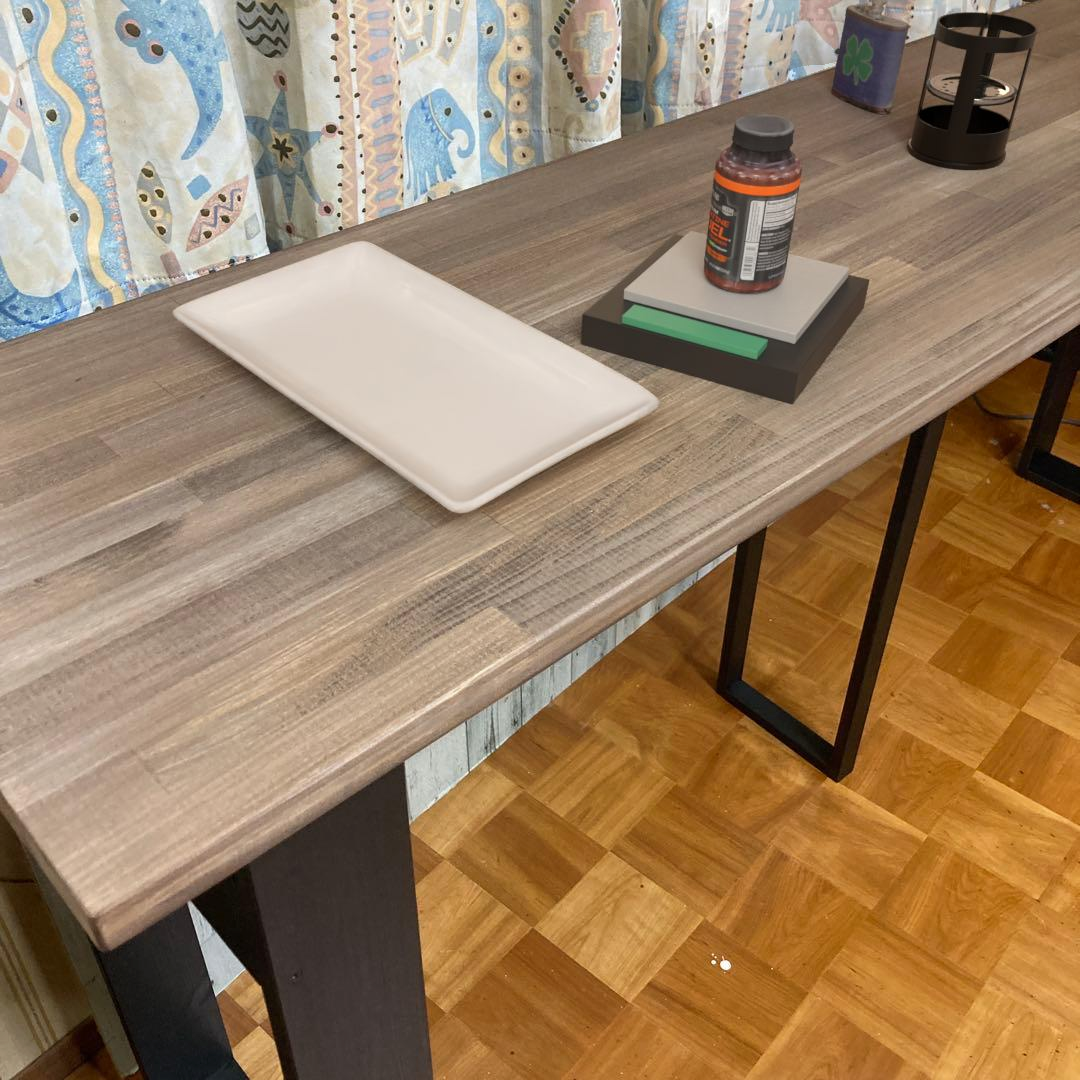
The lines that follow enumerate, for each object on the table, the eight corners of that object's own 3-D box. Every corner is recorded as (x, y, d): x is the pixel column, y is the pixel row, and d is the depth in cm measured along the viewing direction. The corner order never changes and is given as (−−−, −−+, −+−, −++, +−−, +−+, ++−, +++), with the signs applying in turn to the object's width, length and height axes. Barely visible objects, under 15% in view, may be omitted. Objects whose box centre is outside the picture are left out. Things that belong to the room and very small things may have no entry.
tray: (459, 558, 62) (456, 507, 60) (174, 348, 80) (164, 303, 78) (664, 443, 71) (668, 396, 69) (367, 278, 89) (363, 236, 87)
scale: (863, 308, 86) (871, 269, 84) (792, 404, 75) (800, 362, 73) (672, 261, 92) (675, 224, 90) (580, 344, 81) (582, 303, 79)
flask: (896, 112, 121) (918, 5, 115) (874, 116, 121) (895, 8, 114) (844, 87, 128) (861, -15, 121) (823, 91, 127) (839, -12, 120)
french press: (996, 178, 107) (1071, -96, 92) (897, 162, 110) (954, -106, 96) (1012, 140, 115) (1083, -117, 101) (919, 125, 118) (975, -126, 104)
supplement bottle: (688, 267, 84) (704, 112, 77) (758, 256, 85) (780, 103, 78) (726, 302, 79) (746, 142, 72) (799, 289, 81) (826, 132, 74)
